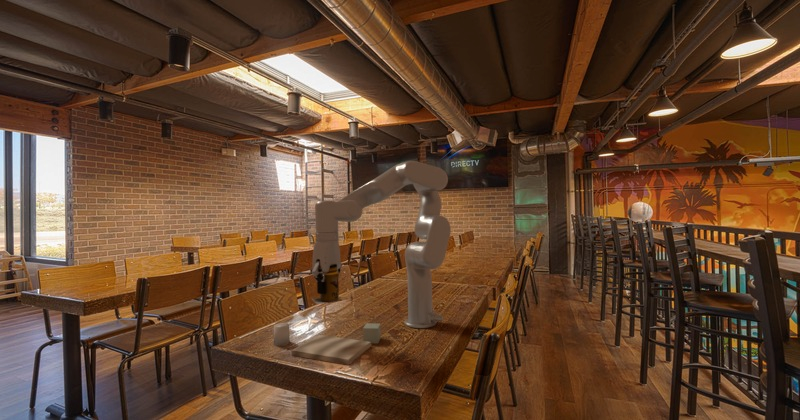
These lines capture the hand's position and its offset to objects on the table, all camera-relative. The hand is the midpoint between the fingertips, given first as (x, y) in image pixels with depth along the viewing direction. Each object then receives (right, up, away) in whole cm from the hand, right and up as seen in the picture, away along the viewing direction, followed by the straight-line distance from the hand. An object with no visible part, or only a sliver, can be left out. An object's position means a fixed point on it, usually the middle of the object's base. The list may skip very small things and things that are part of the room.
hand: (328, 290), depth 111 cm
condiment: (0, -3, -1) cm, 3 cm away
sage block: (+15, -17, +2) cm, 23 cm away
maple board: (+3, -17, -6) cm, 19 cm away
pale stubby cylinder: (-16, -18, +1) cm, 24 cm away
